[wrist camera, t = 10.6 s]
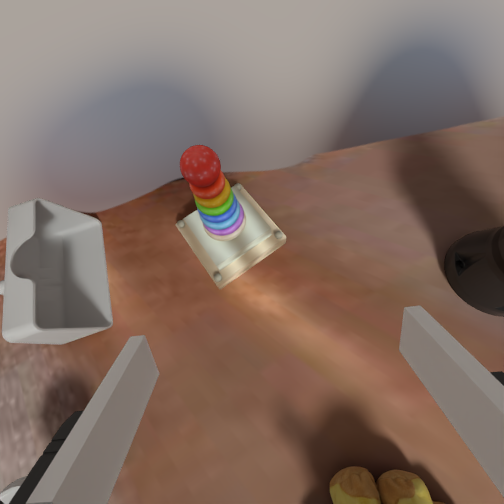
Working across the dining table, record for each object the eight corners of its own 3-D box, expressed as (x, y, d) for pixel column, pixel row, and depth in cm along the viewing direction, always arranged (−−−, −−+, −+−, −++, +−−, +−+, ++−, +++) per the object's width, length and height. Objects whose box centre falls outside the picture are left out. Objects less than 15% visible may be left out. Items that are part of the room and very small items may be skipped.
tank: (33, 243, 57) (-29, 215, 46) (101, 220, 58) (57, 187, 46) (32, 357, 48) (-46, 358, 36) (114, 328, 48) (62, 320, 37)
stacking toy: (199, 214, 49) (156, 137, 31) (238, 199, 49) (217, 116, 32) (211, 249, 46) (171, 186, 28) (252, 233, 46) (238, 161, 29)
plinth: (241, 191, 57) (237, 173, 51) (285, 242, 51) (286, 229, 46) (180, 230, 55) (169, 217, 49) (220, 289, 49) (212, 281, 44)
